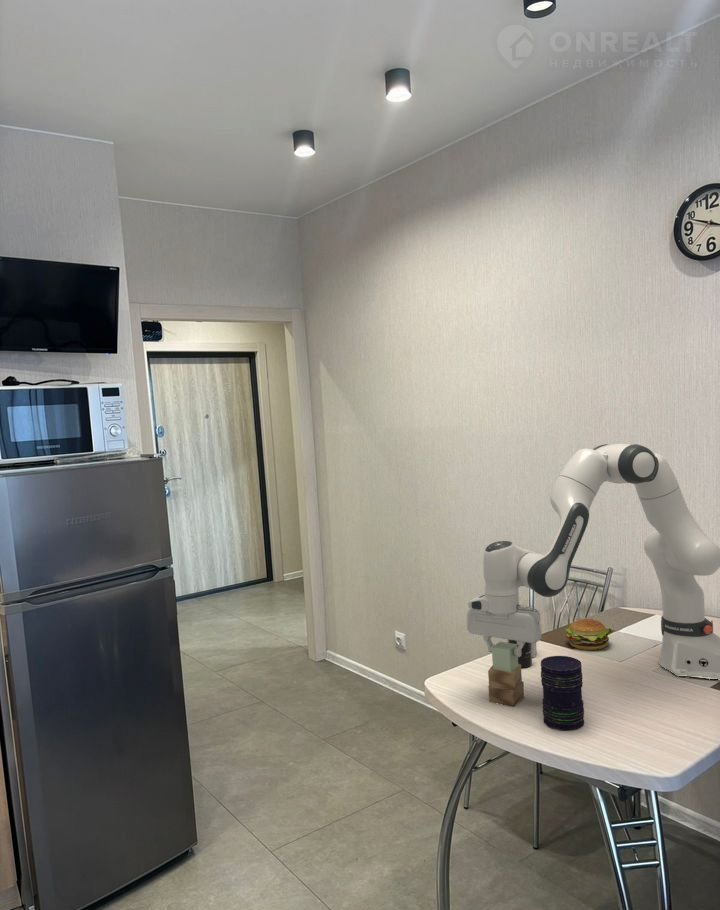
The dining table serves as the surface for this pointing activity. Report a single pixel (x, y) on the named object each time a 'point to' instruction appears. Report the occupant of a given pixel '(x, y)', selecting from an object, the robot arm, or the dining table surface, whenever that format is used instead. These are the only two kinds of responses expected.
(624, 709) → the dining table surface
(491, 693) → the tower base
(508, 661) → the sage block
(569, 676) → the dark blue ribbed cylinder
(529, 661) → the supplement bottle
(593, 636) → the food
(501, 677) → the tower top
